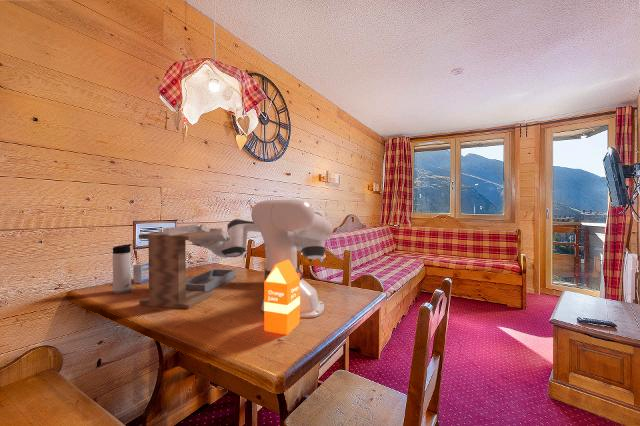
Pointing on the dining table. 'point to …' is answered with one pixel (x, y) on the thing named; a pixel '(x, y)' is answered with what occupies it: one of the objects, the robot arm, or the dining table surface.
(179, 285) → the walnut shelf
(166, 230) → the bar
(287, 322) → the orange juice
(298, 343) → the dining table surface
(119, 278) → the travel mug
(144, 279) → the medicine box
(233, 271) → the blue-gray tray
